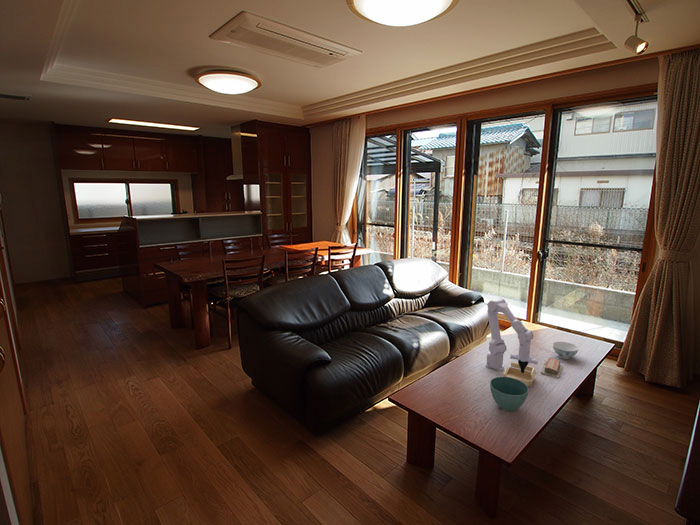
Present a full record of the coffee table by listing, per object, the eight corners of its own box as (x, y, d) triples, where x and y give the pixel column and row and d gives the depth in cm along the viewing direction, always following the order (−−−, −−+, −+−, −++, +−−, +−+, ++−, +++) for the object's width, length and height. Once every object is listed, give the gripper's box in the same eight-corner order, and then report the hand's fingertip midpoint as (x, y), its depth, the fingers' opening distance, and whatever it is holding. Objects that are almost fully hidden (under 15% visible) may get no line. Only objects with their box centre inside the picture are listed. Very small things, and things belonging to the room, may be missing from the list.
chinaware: (582, 361, 238) (583, 350, 236) (559, 362, 238) (560, 351, 237) (569, 351, 252) (570, 341, 251) (547, 352, 253) (548, 341, 251)
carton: (501, 380, 216) (502, 375, 216) (506, 371, 227) (506, 366, 226) (530, 387, 208) (531, 382, 207) (534, 378, 218) (534, 372, 217)
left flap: (510, 366, 225) (510, 362, 223) (511, 365, 225) (511, 361, 224) (532, 371, 218) (532, 367, 217) (532, 370, 219) (532, 366, 217)
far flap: (532, 380, 208) (530, 374, 208) (534, 373, 217) (533, 367, 217) (533, 380, 208) (531, 374, 208) (536, 373, 216) (534, 367, 216)
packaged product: (545, 356, 237) (563, 360, 231) (545, 363, 238) (562, 367, 232) (540, 367, 223) (559, 371, 217) (540, 374, 224) (558, 379, 218)
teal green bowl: (534, 413, 184) (537, 391, 181) (504, 420, 179) (506, 397, 176) (509, 394, 201) (511, 374, 198) (481, 400, 196) (482, 379, 193)
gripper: (509, 350, 214) (508, 371, 216) (537, 356, 206) (535, 378, 208) (512, 346, 219) (510, 367, 222) (538, 351, 211) (536, 373, 214)
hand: (522, 372), depth 216 cm, fingers closed
